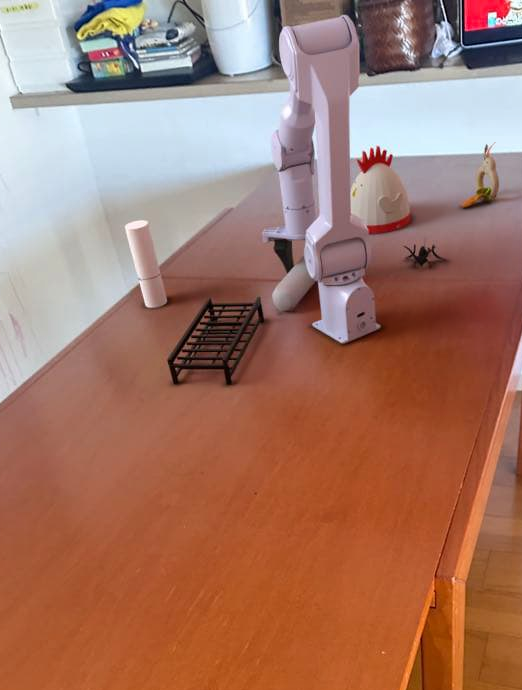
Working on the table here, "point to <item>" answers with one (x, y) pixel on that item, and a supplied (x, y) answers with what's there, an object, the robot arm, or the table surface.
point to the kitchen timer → (379, 194)
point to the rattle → (482, 192)
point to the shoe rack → (211, 323)
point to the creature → (422, 255)
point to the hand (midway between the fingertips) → (307, 278)
